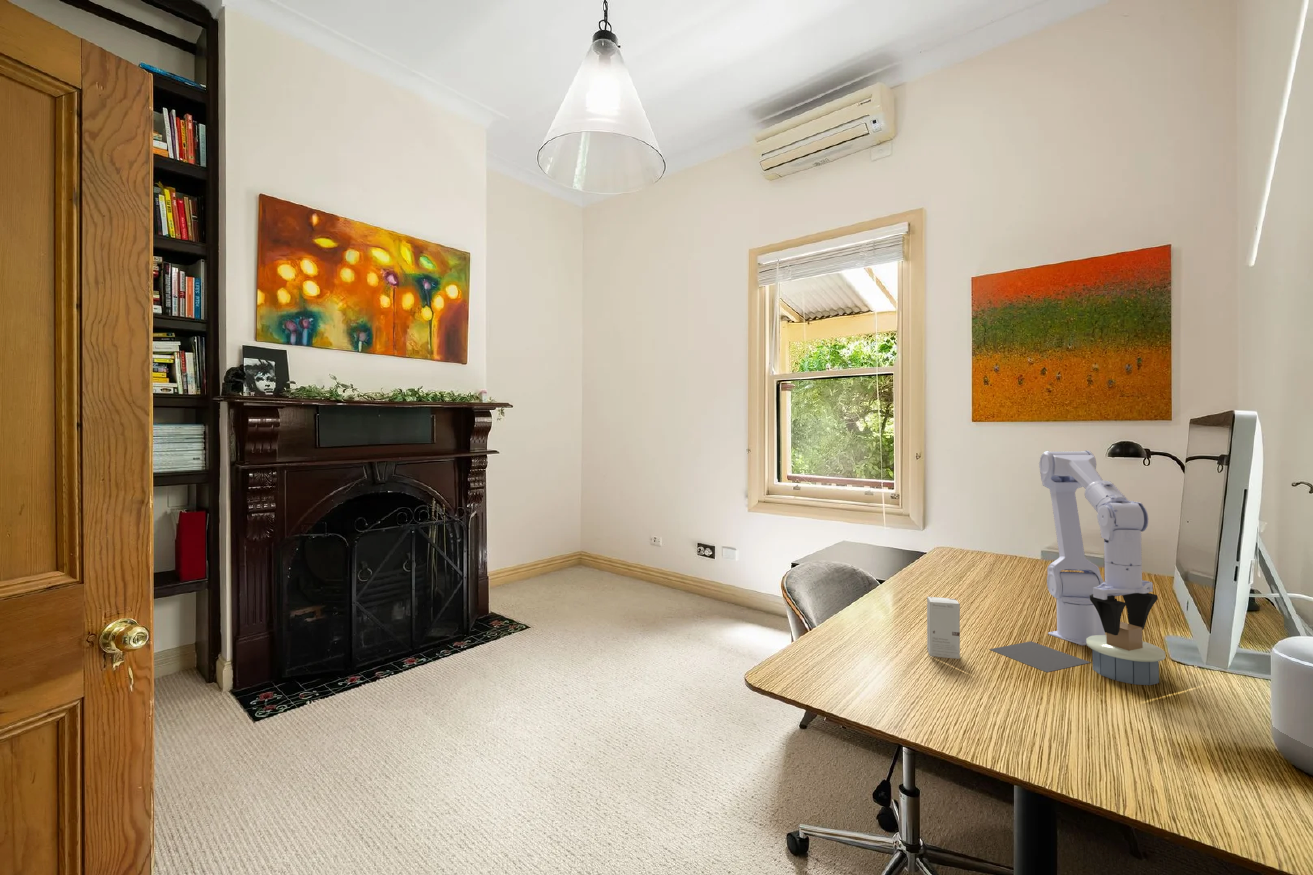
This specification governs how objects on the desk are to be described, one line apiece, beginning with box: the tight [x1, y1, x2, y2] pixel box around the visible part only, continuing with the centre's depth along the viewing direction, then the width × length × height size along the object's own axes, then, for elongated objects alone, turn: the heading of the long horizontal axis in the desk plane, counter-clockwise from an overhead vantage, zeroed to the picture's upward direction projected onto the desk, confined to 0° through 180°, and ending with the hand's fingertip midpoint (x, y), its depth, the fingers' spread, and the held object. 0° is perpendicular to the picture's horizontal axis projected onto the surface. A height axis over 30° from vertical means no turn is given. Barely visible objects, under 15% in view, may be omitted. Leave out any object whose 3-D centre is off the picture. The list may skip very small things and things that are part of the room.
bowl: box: [1091, 649, 1160, 686], centre depth 111 cm, size 10×10×5 cm
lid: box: [1086, 621, 1166, 662], centre depth 111 cm, size 12×12×5 cm
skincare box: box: [926, 596, 961, 660], centre depth 122 cm, size 6×4×12 cm
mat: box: [988, 640, 1092, 673], centre depth 120 cm, size 13×13×1 cm
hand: (1124, 630), depth 111 cm, fingers open, 7 cm apart
